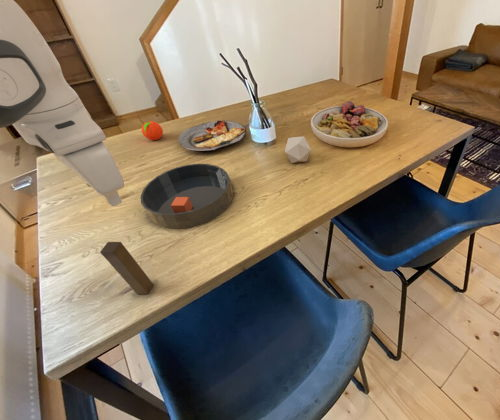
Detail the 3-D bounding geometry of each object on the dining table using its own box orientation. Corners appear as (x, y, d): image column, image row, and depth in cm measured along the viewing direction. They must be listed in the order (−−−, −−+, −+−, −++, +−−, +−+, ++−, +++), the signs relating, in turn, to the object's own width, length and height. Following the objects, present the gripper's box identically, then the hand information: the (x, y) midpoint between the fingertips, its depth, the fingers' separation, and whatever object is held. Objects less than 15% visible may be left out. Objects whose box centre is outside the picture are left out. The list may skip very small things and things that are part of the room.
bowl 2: (392, 151, 100) (395, 131, 94) (309, 151, 100) (308, 131, 95) (380, 116, 122) (382, 98, 116) (312, 116, 122) (312, 99, 117)
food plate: (229, 120, 120) (227, 112, 118) (258, 139, 107) (256, 130, 105) (171, 139, 108) (167, 130, 105) (196, 162, 95) (192, 153, 93)
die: (304, 171, 92) (317, 143, 89) (279, 159, 89) (292, 131, 87) (301, 166, 100) (314, 140, 97) (279, 155, 97) (290, 129, 94)
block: (193, 206, 77) (188, 196, 75) (188, 215, 74) (183, 205, 72) (180, 206, 77) (175, 196, 75) (175, 215, 74) (170, 205, 72)
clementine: (159, 144, 104) (151, 127, 100) (141, 144, 104) (132, 127, 100) (168, 134, 110) (161, 117, 105) (151, 134, 110) (143, 117, 106)
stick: (148, 294, 58) (113, 252, 48) (137, 294, 58) (99, 252, 48) (153, 284, 59) (120, 241, 50) (142, 284, 59) (107, 241, 50)
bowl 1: (202, 236, 70) (196, 222, 66) (129, 218, 75) (119, 204, 71) (247, 183, 86) (244, 170, 82) (184, 171, 91) (179, 158, 88)
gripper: (9, 112, 45) (63, 182, 54) (54, 150, 35) (110, 225, 45) (55, 101, 48) (98, 167, 58) (106, 132, 39) (148, 205, 48)
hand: (104, 193), depth 51 cm, fingers open, 8 cm apart
